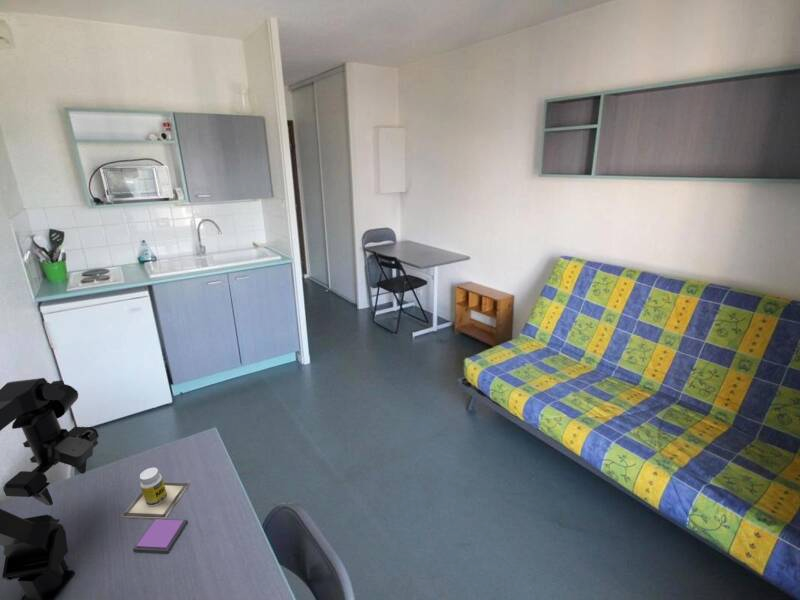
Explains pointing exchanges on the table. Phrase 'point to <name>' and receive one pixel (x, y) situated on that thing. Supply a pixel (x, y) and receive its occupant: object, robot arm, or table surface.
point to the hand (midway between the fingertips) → (67, 488)
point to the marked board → (159, 511)
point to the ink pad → (160, 536)
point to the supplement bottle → (152, 487)
